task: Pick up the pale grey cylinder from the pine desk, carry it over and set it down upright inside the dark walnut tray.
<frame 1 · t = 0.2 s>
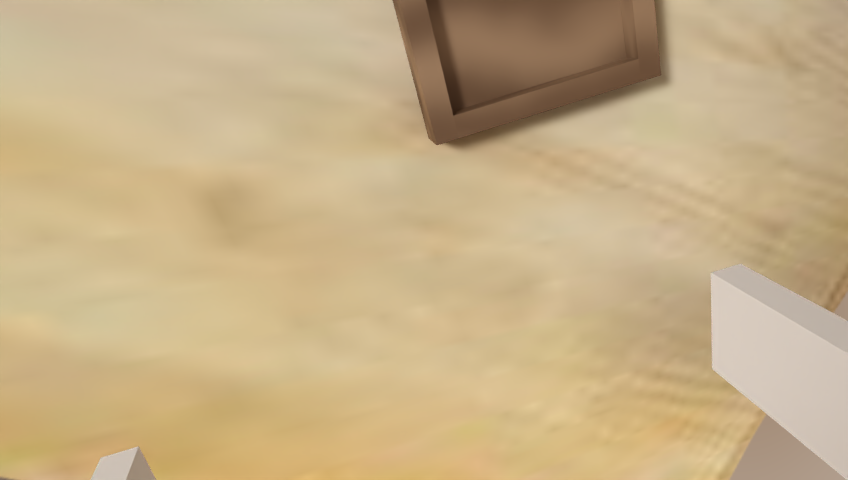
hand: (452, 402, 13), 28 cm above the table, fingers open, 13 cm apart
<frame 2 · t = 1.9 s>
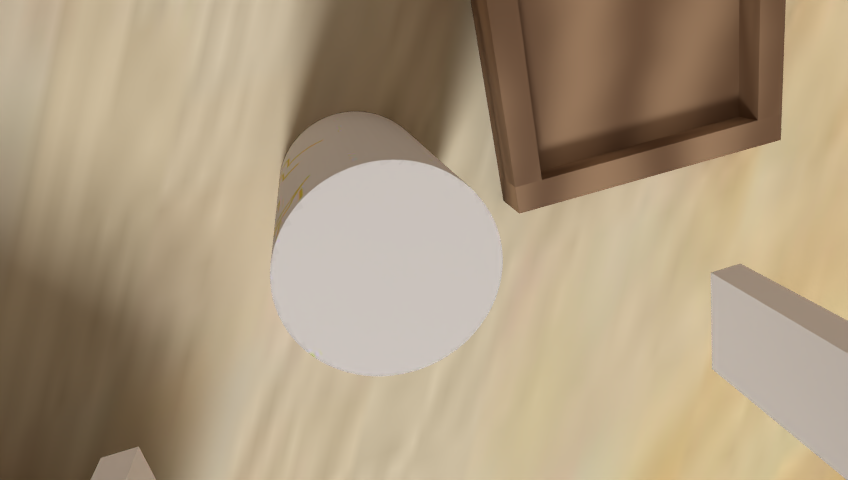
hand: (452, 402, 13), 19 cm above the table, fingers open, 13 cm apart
tray: (619, 25, 31), on the table
pale grey cylinder: (356, 186, 31), on the table
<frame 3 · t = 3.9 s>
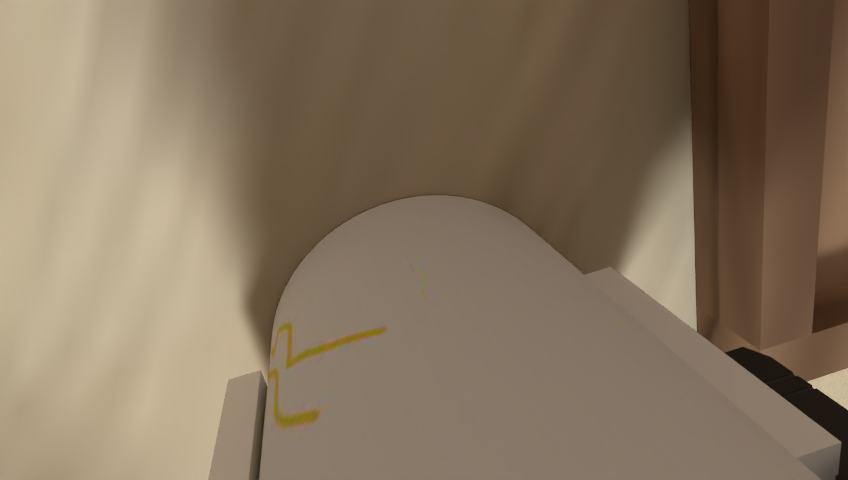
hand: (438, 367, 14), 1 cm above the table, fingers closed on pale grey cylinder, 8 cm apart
pale grey cylinder: (426, 337, 15), on the table, touching gripper
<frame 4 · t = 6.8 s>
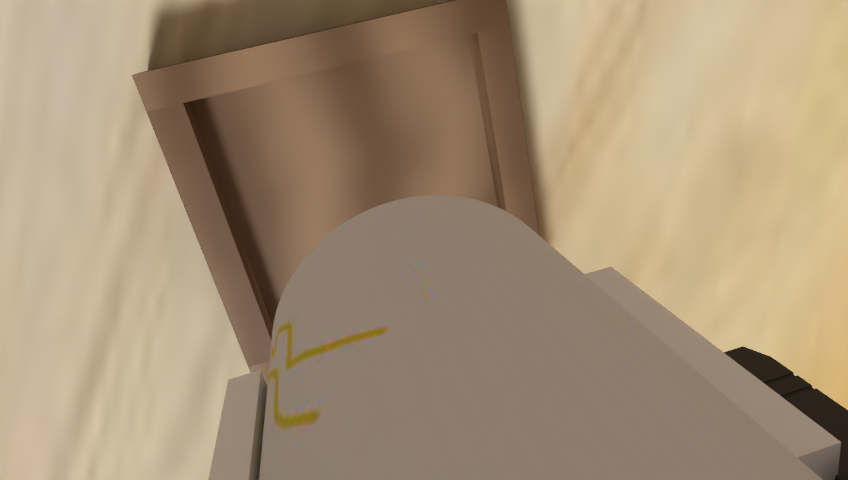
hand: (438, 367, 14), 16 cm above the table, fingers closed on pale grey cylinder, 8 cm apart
tray: (365, 192, 29), on the table
pale grey cylinder: (426, 337, 15), point 15 cm above the table, touching gripper
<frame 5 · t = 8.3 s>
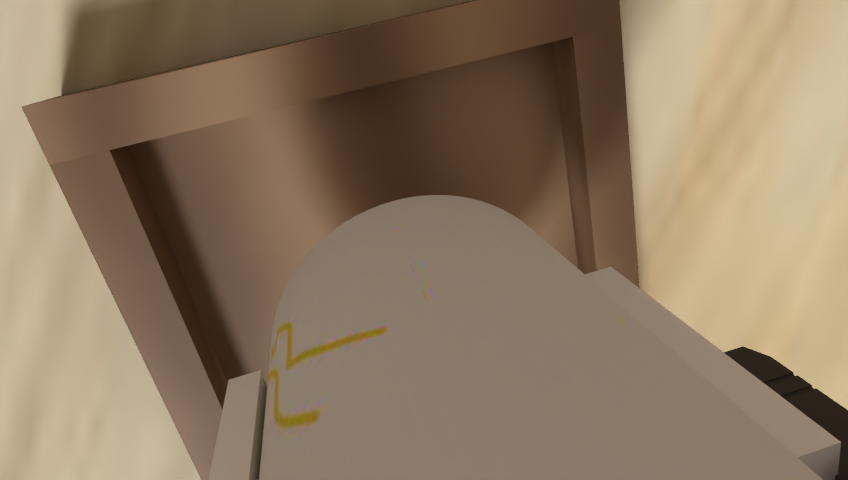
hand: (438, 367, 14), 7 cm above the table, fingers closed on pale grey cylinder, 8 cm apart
tray: (392, 266, 20), on the table
pale grey cylinder: (426, 337, 15), point 5 cm above the table, touching gripper
when the fingers open (3 cm above the table, at t = 9.5 s): pale grey cylinder stays where it is, resting on tray.
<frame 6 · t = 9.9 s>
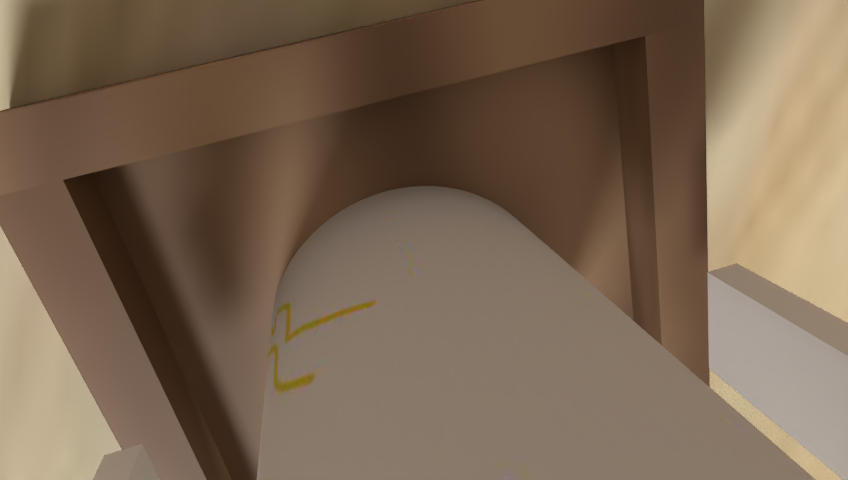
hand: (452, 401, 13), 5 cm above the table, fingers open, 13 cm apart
tray: (413, 307, 17), on the table
pale grey cylinder: (417, 321, 16), point 1 cm above the table, touching tray
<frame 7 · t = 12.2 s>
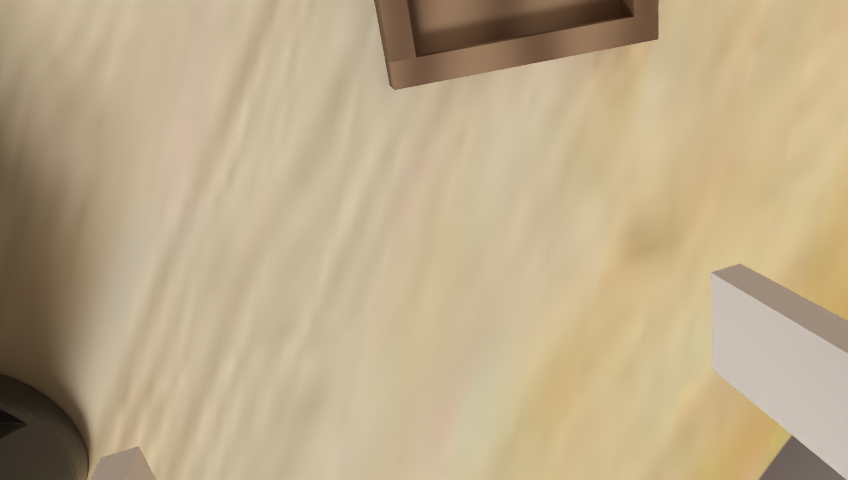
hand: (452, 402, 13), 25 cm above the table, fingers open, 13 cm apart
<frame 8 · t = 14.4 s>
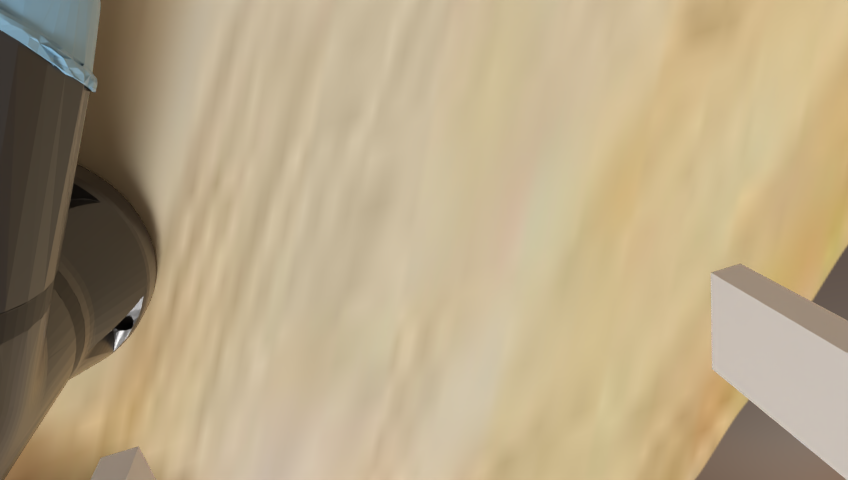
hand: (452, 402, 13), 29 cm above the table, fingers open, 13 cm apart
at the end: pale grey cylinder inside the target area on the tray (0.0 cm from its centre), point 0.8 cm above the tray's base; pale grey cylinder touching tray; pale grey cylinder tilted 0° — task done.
